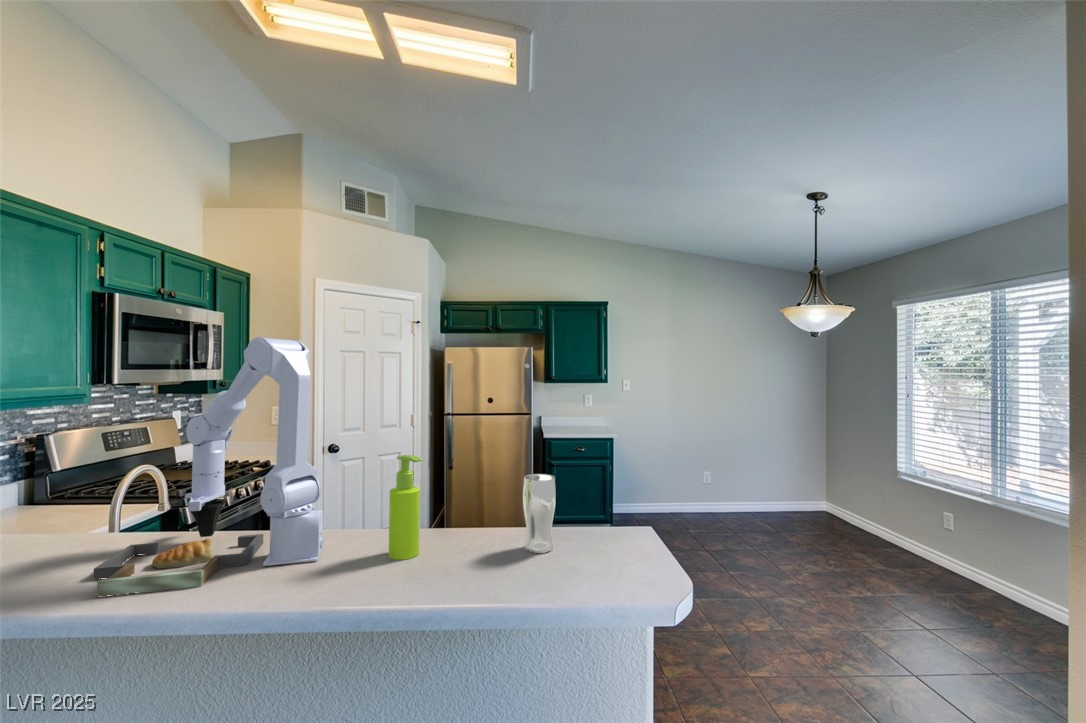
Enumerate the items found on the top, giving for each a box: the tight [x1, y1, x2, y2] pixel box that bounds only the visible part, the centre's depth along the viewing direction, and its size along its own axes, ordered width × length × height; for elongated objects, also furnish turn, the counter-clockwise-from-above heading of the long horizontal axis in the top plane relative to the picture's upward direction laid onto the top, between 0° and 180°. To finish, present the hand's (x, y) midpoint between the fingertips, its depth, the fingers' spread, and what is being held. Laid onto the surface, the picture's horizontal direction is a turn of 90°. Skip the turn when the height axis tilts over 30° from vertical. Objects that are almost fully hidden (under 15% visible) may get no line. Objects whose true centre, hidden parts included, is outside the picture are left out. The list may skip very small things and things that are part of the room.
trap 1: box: [92, 542, 159, 580], centre depth 89 cm, size 4×12×2 cm, turn 17°
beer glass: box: [522, 473, 556, 554], centre depth 99 cm, size 7×7×15 cm
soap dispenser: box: [388, 454, 423, 561], centre depth 95 cm, size 6×7×20 cm
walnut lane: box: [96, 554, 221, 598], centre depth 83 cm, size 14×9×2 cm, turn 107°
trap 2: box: [218, 533, 264, 569], centre depth 95 cm, size 4×12×2 cm, turn 17°
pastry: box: [151, 538, 214, 569], centre depth 91 cm, size 9×7×4 cm
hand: (207, 535), depth 101 cm, fingers closed
